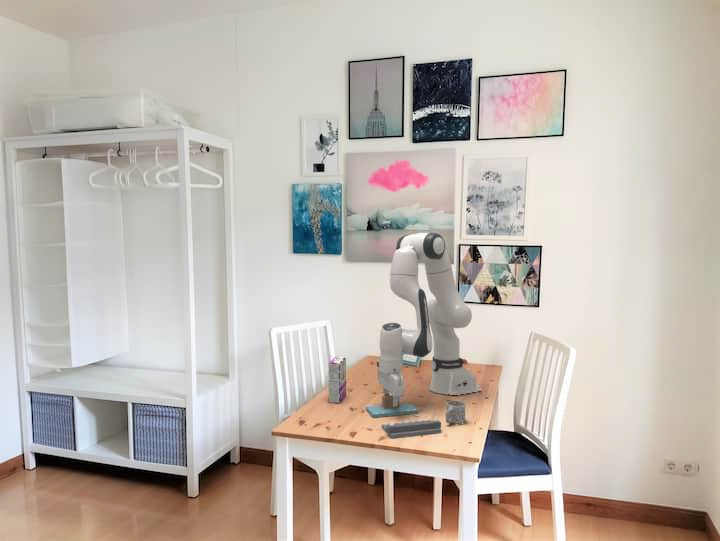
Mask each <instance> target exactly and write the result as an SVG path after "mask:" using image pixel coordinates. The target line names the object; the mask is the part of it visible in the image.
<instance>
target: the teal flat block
mask: <svg viewBox="0 0 720 541" xmlns="http://www.w3.org/2000/svg"><path fill="white" fill-rule="evenodd" d="M392 401H393V395H392V394H391V395H389V396H384V395H382V396H381V405H379V404H378V405H371V406H369V405H367V406H365V410H366V412H367V413H368V414H369V415H370V416H371V417H372V418H382V417H391V416H392V417H393V416H403V415H414V414H419V409H418V408H417V407H416V406H414V405H413V404H412V403H411V402H402V403H400V399H399V400H398V406H393V405H392Z"/></svg>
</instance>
